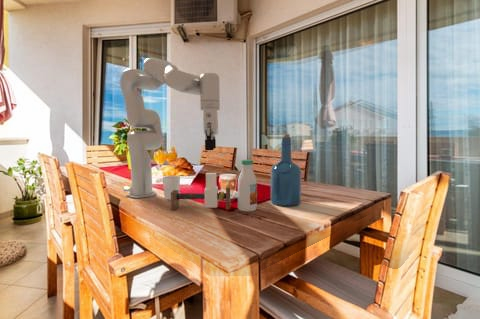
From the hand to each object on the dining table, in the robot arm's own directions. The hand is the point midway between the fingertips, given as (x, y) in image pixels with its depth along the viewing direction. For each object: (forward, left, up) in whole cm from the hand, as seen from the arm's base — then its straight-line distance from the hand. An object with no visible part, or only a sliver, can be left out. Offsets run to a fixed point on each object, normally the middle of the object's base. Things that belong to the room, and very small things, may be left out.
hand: (210, 149), depth 108 cm
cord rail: (-4, 0, -24) cm, 25 cm away
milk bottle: (+15, -2, -24) cm, 28 cm away
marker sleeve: (0, 0, -24) cm, 24 cm away
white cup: (-20, +17, -24) cm, 36 cm away
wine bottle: (+32, +7, -24) cm, 41 cm away
